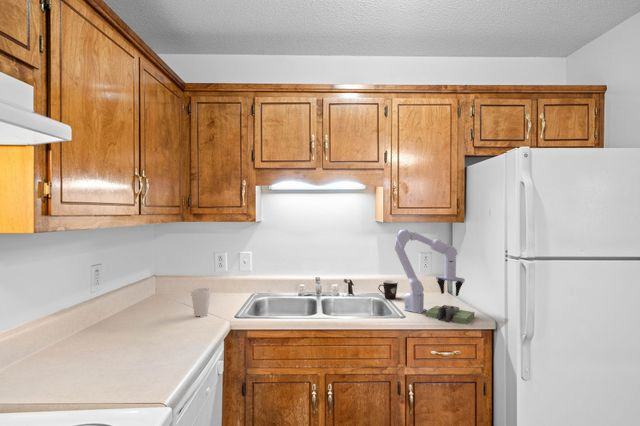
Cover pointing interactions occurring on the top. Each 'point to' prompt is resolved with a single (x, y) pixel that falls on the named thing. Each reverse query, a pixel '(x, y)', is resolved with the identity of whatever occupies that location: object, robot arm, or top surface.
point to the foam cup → (200, 301)
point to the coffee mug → (389, 289)
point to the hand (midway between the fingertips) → (449, 294)
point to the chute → (445, 313)
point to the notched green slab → (458, 316)
